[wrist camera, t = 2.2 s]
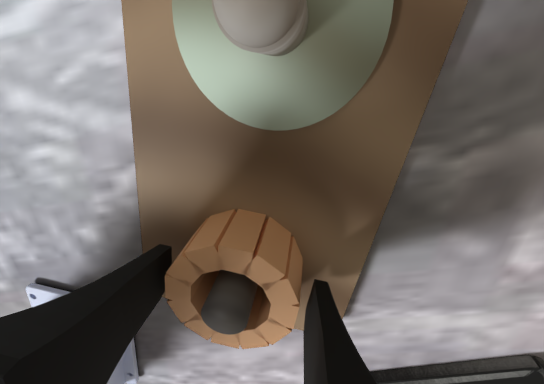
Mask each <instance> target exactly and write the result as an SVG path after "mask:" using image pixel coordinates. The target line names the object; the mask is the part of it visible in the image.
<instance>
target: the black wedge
mask: <svg viewBox="0 0 544 384" xmlns="http://www.w3.org/2000/svg"><path fill="white" fill-rule="evenodd" d="M370 373H371V375H372V376H373V378H374V379H375V381H376V382H377V384H544V361H543V360H542V359H541V358H538V357H536V356H531V355H519V356H510V357H501V358H492V359H483V360H474V361H465V362H455V363H446V364H437V365H428V366H419V367H410V368H401V369H392V370H383V371H373V372H370Z"/></svg>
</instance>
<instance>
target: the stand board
mask: <svg viewBox="0 0 544 384" xmlns="http://www.w3.org/2000/svg"><path fill="white" fill-rule="evenodd" d="M121 1H122V13H123V25H124V37H125V49H126V61H127V73H128V85H129V96H130V108H131V120H132V132H133V144H134V156H135V168H136V179H137V191H138V203H139V215H140V227H141V239H142V251H143V254H144V253H146V252H147V251H149V250H151V249H152V248H154V247H155V246H157V245H159V244H163V245H167V246H172V263H173V262H174V261H175V259H176V258H177V257H178V255H179V254H180V252H181V251H182V250H183V248H184V247H185V246H186V244H187V243H188V241H189V240H190V239H191V237H192V236H193V235H194V233H195V232H196V231H197V230H198V228H199V227H200V226H201V225H202V224H203V222H204V221H205V220H206V219H207V218H209V217H210V216H211V215H215V214H218V213H222V212H225V211H229V210H232V209H235V211H236V212H237V210H238V209H242V210H247V211H251V212H256V213H261V214H266V218H265V221H266V220H267V219H268V218H269V217H271V218H273V219H274V220H275V221H276V222H278V223H279V224H280V225H282V226H283V227H284V228H285V229H287V230H288V231H289V232H291V237H292V236H294V238H295V240H296V243H297V245H298V248H299V250H300V253H301V255H302V258H303V259H302V261H303V266H302V280H301V294H300V307H299V311H298V315H297V318H296V322H295V325H294V329H298V330H303V331H304V321H305V311H306V306H307V302H308V299H309V296H310V292H311V289H312V286H313V282H314V279H317V280H322V281H326V282H328V284H329V286H330V290H331V293H332V296H333V298H334V301H335V304H336V306H337V309H338V311H339V314H340V316H341V318H343V316H344V313H345V311H346V308H347V306H348V303H349V301H350V298H351V296H352V293H353V291H354V288H355V286H356V283H357V280H358V278H359V275H360V273H361V270H362V268H363V265H364V263H365V260H366V258H367V255H368V253H369V250H370V248H371V245H372V243H373V240H374V237H375V235H376V232H377V230H378V227H379V225H380V222H381V220H382V217H383V215H384V212H385V210H386V207H387V205H388V202H389V200H390V197H391V194H392V192H393V189H394V187H395V184H396V182H397V179H398V177H399V174H400V172H401V169H402V167H403V164H404V162H405V159H406V157H407V154H408V152H409V149H410V146H411V144H412V141H413V139H414V136H415V134H416V131H417V129H418V126H419V124H420V121H421V119H422V116H423V114H424V111H425V109H426V106H427V103H428V101H429V98H430V96H431V93H432V91H433V88H434V86H435V83H436V81H437V78H438V76H439V73H440V71H441V68H442V66H443V63H444V60H445V58H446V55H447V53H448V50H449V48H450V45H451V43H452V40H453V38H454V35H455V33H456V30H457V28H458V25H459V23H460V20H461V17H462V15H463V12H464V10H465V7H466V5H467V2H468V0H121ZM257 286H258V284H257V283H255V282H254V281H252V280H251V279H250V278H248V277H247V276H245V275H243V274H239V273H235V272H230V271H226V270H220V271H219V273H218V275H217V277H216V279H215V282H214V284H213V286H212V288H211V290H210V292H209V294H208V296H207V299H206V301H205V303H204V305H203V307H202V309H201V317H202V319H203V321H204V322H205V324H206V325H207V326H208V327H210V328H211V329H212V330H214V331H216V332H219V333H222V334H228V335H232V334H238V333H240V332H242V331H243V330H244V329H245V328H246V326H247V323H248V319H249V316H250V312H251V308H252V305H253V301H254V297H255V293H256V290H257ZM162 297H164V298H165V292H164V294H163V296H162Z"/></svg>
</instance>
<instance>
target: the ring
mask: <svg viewBox="0 0 544 384" xmlns="http://www.w3.org/2000/svg"><path fill="white" fill-rule="evenodd" d="M265 218H266V214H261V213H256V212H251V211H247V210H242V209H238V210H237V212H236V211H235V209H232V210H229V211H225V212H222V213H218V214H215V215H211V216H210V217H209V218H207V219H206V220H205V221H204V222H203V224H202V225H201V226H200V227H199V228H198V230H197V231H196V232H195V233H194V235H193V236H192V237H191V239H190V240H189V241H188V243H187V244H186V246H185V247H184V248H183V250H182V251H181V252H180V254H179V255H178V257H177V258H176V259H175V261H174V262H173V263H172V265H171V266H170V268H169V269H168V270H167V272H166V275H165V298H166V299H168V300H167V303H168V304H169V306H170V307H171V309H172V310H173V312H174V313H175V314H176V316H177V317H178V319H179V320H180V322H181V323H182V322H185V324H184V326H186V327H187V328H189V329H191V330H192V331H194V332H195V333H197V334H198V335H200V336H201V337H203V338H205V339H206V340H208V339H210V338H211V342H213V343H217V344H221V345H225V346H229V347H233V348H237V349H239V346H241V347H242V349H247V348H256V347H265V346H269V343H270V344H272V345H273V344H274V343H276V342H277V341H279V340H280V339H281V338H283V337H284V336H286V335H287V334H289V333H290V332H291V331H292V329H294V325H295V322H296V318H297V315H298V311H299V307H300V294H301V280H302V266H303V261H302V259H303V258H302V255H301V253H300V250H299V248H298V245H297V243H296V240H295V238H294V236H292V237H291V232H289V231H288V230H287V229H285V228H284V227H283V226H282V225H280V224H279V223H278V222H276V221H275V220H274V219H273V218H271V217H269V218H268V219H267V220H266V221H265ZM220 270H226V271H230V272H235V273H239V274H243V275H245V276H247V277H248V278H250V279H251V280H252V281H254V282H255V283H257V284H258V286H257V290H256V293H255V297H254V301H253V305H252V308H251V312H250V316H249V319H248V323H247V326H246V328H245V329H244V330H243V331H242V332H240V333H238V334H232V335H228V334H222V333H219V332H216V331H214V330H212V329H211V328H210V327H208V326H207V325H206V324H205V322H204V321H203V319H202V317H201V309H202V307H203V305H204V303H205V301H206V299H207V296H208V294H209V292H210V290H211V288H212V286H213V284H214V282H215V279H216V277H217V275H218V273H219V271H220Z"/></svg>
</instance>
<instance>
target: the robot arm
mask: <svg viewBox="0 0 544 384" xmlns="http://www.w3.org/2000/svg"><path fill="white" fill-rule="evenodd" d="M171 265H172V246H167V245H163V244H159V245H157V246H155V247H154V248H152V249H151V250H149V251H147V252H146V253H144V254H142V255H141V256H139V257H137V258H136V259H134V260H133V261H131V262H129V263H127V264H126V265H124V266H122V267H121V268H119V269H117V270H115V271H113V272H112V273H110V274H108V275H106V276H104V277H102V278H100V279H99V280H97V281H95V282H93V283H91V284H88V285H86V286H84V287H82V288H80V289H78V290H75V291H73V292H68V291H64V290H60V289H56V288H52V287H48V286H44V285H40V284H35V283H31V284H29V285H28V286H27V287H26V292H27V295H28V298H29V301H30V303H31V306H32V308H29V309H26V310H23V311H20V312H17V313H13V314H10V315H7V316H4V317H0V384H124V383H129V384H136V383H137V382H138V380H139V376H138V368H137V360H136V352H135V344H134V336H135V334H136V333H137V332H138V330H139V329H140V327H141V326H142V324H143V323H144V322H145V320H146V319H147V317H148V316H149V314H150V313H151V312H152V310H153V309H154V307H155V306H156V304H157V303H158V301H159V300H160V299H161V297H162V296H163V294H164V292H165V275H166V272H167V270H168V269H169V268H170V266H171ZM304 384H377V382H376V381H375V379H374V378H373V376H372V375H371V373H370V371H369V370H368V368H367V367H366V365H365V363H364V362H363V360H362V358H361V356H360V355H359V353H358V351H357V349H356V347H355V345H354V344H353V342H352V340H351V338H350V336H349V334H348V332H347V329H346V327H345V325H344V323H343V321H342V318H341V316H340V314H339V311H338V309H337V306H336V304H335V301H334V298H333V296H332V293H331V290H330V286H329V284H328V282H326V281H322V280H317V279H314V282H313V286H312V289H311V292H310V296H309V299H308V302H307V306H306V311H305V321H304Z"/></svg>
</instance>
